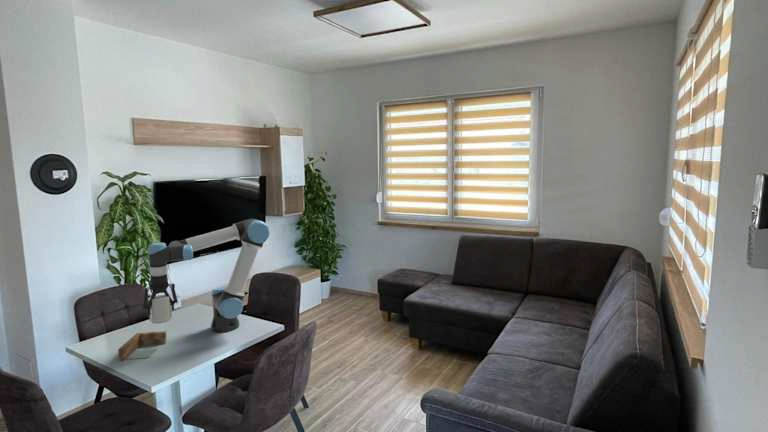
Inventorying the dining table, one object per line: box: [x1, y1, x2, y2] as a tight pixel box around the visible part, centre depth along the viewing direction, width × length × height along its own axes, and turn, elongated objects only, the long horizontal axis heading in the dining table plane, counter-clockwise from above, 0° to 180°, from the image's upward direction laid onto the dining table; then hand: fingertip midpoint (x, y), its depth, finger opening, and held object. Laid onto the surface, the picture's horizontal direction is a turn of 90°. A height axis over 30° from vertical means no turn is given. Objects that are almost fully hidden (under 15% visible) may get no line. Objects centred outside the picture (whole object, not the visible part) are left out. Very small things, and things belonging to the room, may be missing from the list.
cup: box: [151, 294, 171, 325], centre depth 209 cm, size 8×8×12 cm
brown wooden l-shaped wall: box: [117, 330, 168, 362], centre depth 210 cm, size 14×20×6 cm
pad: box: [126, 348, 158, 360], centre depth 207 cm, size 10×10×1 cm
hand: (161, 319), depth 209 cm, fingers closed on cup, 8 cm apart
